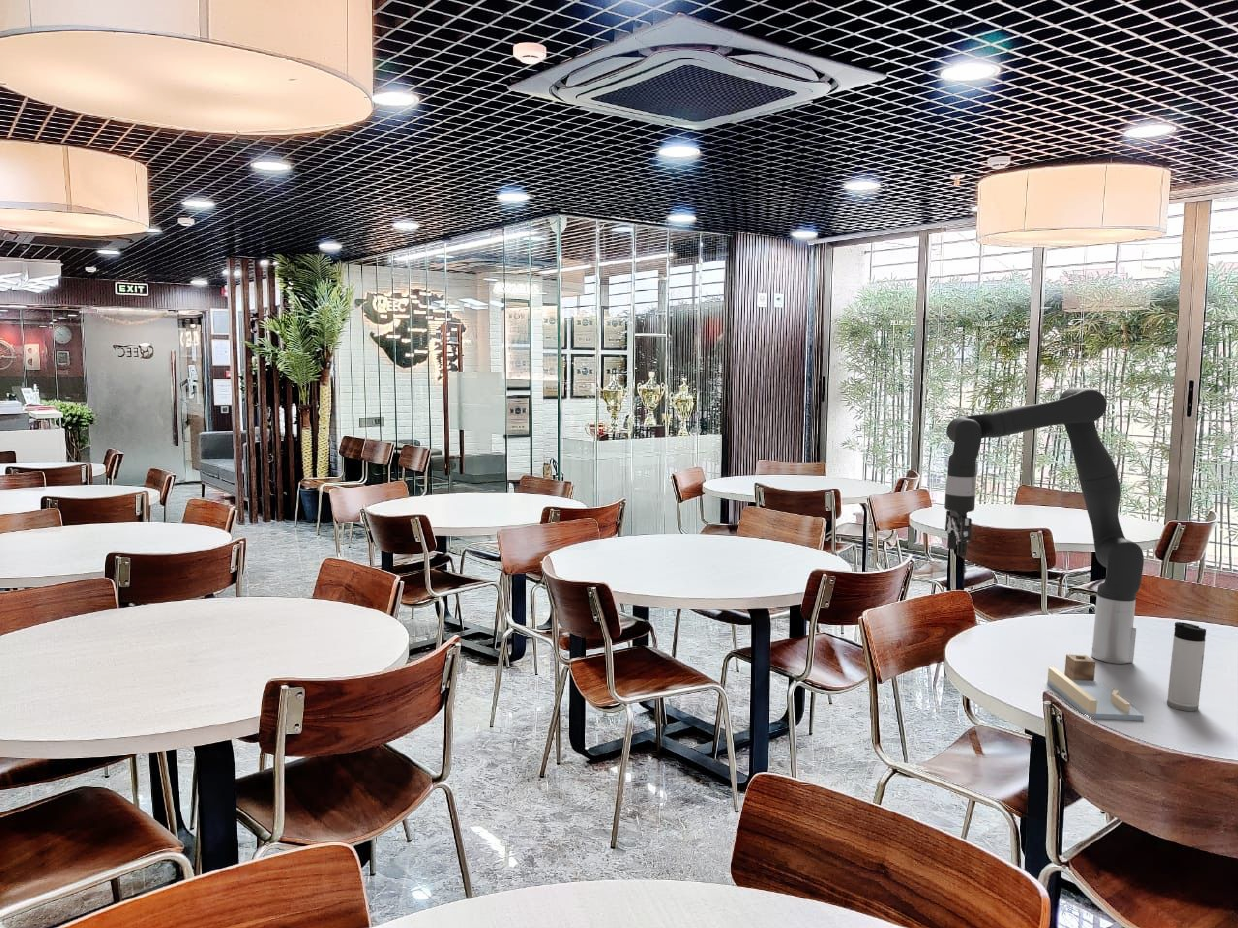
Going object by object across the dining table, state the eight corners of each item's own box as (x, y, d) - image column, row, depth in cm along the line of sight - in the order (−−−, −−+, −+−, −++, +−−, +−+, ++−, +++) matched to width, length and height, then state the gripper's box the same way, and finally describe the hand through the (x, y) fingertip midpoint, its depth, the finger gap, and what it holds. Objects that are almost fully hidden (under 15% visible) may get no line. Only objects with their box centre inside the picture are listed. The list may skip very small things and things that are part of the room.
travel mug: (1159, 701, 214) (1167, 619, 212) (1185, 701, 215) (1194, 619, 213) (1177, 711, 208) (1186, 627, 206) (1204, 711, 209) (1213, 627, 206)
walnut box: (1084, 677, 230) (1086, 652, 229) (1093, 684, 225) (1095, 659, 224) (1064, 677, 230) (1066, 652, 229) (1072, 684, 225) (1075, 658, 224)
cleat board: (1096, 685, 224) (1097, 669, 224) (1143, 720, 202) (1145, 702, 202) (1047, 683, 225) (1048, 667, 224) (1088, 718, 203) (1090, 700, 202)
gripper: (983, 497, 234) (979, 558, 236) (965, 489, 248) (961, 547, 250) (954, 496, 234) (950, 557, 236) (937, 488, 248) (934, 546, 250)
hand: (956, 552), depth 243 cm, fingers open, 8 cm apart
